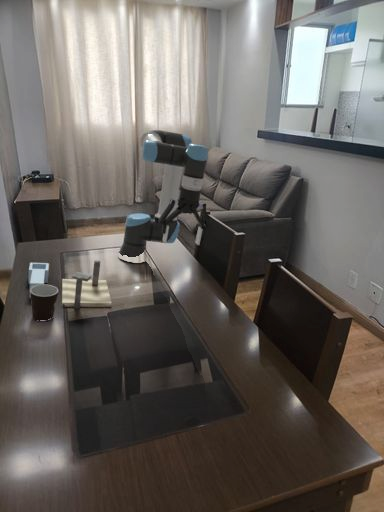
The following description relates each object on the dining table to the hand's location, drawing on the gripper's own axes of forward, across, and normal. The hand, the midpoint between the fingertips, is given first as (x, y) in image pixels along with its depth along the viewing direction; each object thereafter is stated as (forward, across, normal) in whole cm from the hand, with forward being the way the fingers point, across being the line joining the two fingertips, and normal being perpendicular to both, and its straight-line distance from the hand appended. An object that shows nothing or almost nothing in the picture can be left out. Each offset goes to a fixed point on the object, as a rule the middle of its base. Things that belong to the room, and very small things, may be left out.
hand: (181, 242), depth 138 cm
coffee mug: (+27, -47, -8) cm, 55 cm away
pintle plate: (+26, -33, +7) cm, 43 cm away
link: (+26, -50, +14) cm, 58 cm away
